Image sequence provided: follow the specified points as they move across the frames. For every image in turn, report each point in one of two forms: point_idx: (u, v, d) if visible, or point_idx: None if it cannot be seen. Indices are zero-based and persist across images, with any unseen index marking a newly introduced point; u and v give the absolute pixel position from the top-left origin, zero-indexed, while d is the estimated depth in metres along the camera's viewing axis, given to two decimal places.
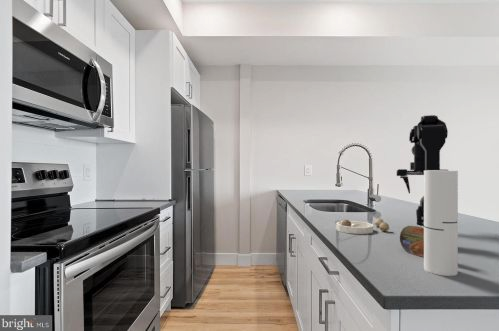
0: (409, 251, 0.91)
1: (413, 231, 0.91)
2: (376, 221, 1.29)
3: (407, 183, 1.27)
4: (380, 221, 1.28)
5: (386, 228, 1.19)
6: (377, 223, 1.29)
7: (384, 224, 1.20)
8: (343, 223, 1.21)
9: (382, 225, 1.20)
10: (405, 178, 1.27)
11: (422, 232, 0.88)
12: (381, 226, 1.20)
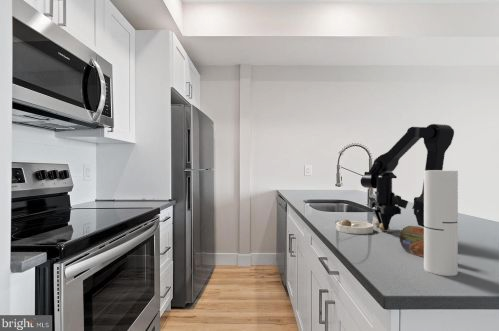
0: (409, 251, 0.91)
1: (413, 231, 0.91)
2: (376, 221, 1.29)
3: (376, 216, 1.24)
4: None
5: None
6: (377, 223, 1.29)
7: None
8: (343, 223, 1.21)
9: (382, 225, 1.20)
10: (374, 211, 1.24)
11: (422, 232, 0.88)
12: (381, 226, 1.20)
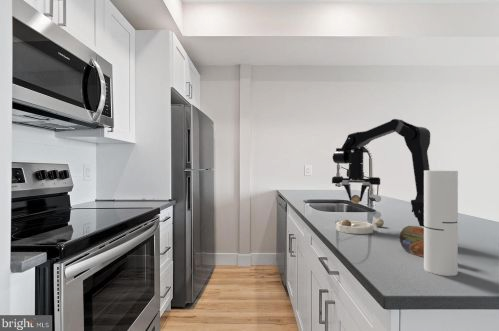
0: (409, 251, 0.91)
1: (413, 231, 0.91)
2: (376, 221, 1.29)
3: (348, 190, 1.26)
4: (380, 221, 1.28)
5: (359, 200, 1.27)
6: (377, 223, 1.29)
7: (358, 196, 1.26)
8: (343, 223, 1.21)
9: (358, 197, 1.26)
10: (346, 186, 1.26)
11: (422, 232, 0.88)
12: (358, 198, 1.25)
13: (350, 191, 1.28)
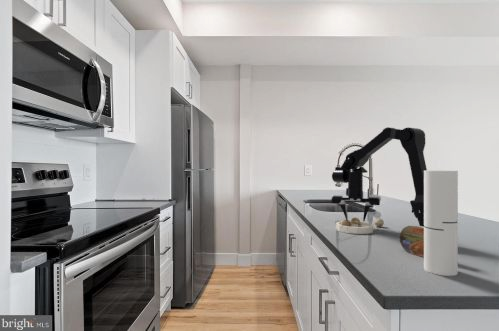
0: (409, 251, 0.91)
1: (413, 231, 0.91)
2: (376, 221, 1.29)
3: (344, 210, 1.27)
4: (380, 221, 1.28)
5: (359, 222, 1.27)
6: (377, 223, 1.29)
7: (358, 219, 1.26)
8: (343, 223, 1.21)
9: (358, 220, 1.26)
10: (342, 206, 1.26)
11: (422, 232, 0.88)
12: (357, 221, 1.25)
13: (346, 210, 1.29)
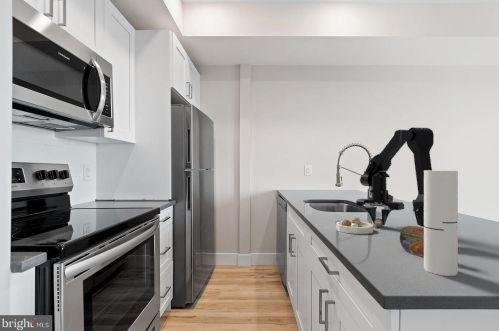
0: (409, 251, 0.91)
1: (413, 231, 0.91)
2: (376, 221, 1.29)
3: (370, 213, 1.31)
4: (380, 221, 1.28)
5: None
6: (377, 223, 1.29)
7: (359, 219, 1.26)
8: (343, 223, 1.21)
9: (359, 221, 1.25)
10: (368, 209, 1.31)
11: (422, 232, 0.88)
12: (358, 222, 1.25)
13: (374, 214, 1.31)
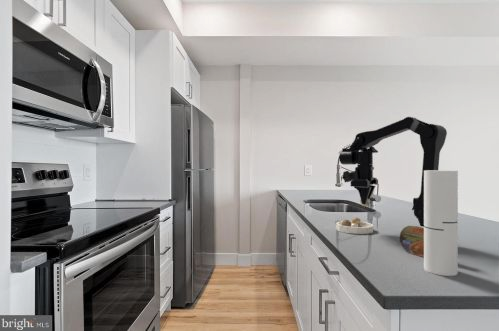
0: (409, 251, 0.91)
1: (413, 231, 0.91)
2: (369, 201, 1.20)
3: (368, 193, 1.18)
4: None
5: None
6: (369, 202, 1.21)
7: (360, 220, 1.26)
8: (343, 223, 1.21)
9: (359, 221, 1.25)
10: (370, 188, 1.17)
11: (422, 232, 0.88)
12: (358, 222, 1.25)
13: None
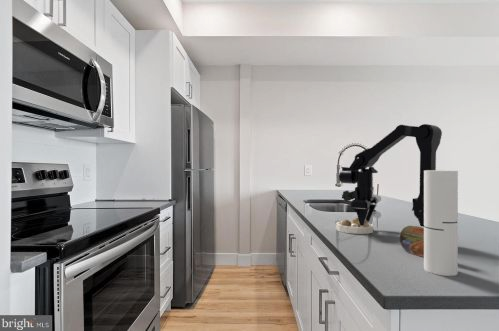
0: (409, 251, 0.91)
1: (413, 231, 0.91)
2: (368, 224, 1.20)
3: (366, 215, 1.16)
4: None
5: None
6: None
7: None
8: (343, 223, 1.21)
9: None
10: (368, 210, 1.15)
11: (422, 232, 0.88)
12: None
13: None
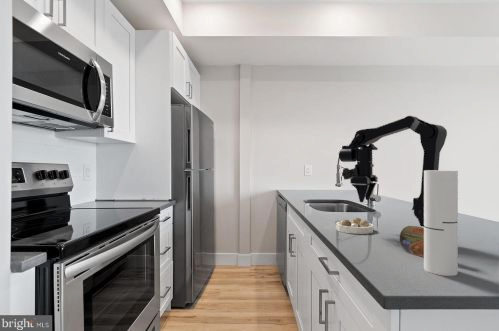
0: (409, 251, 0.91)
1: (413, 231, 0.91)
2: (368, 223, 1.20)
3: (366, 191, 1.16)
4: None
5: None
6: None
7: None
8: (343, 223, 1.21)
9: None
10: (368, 186, 1.15)
11: (422, 232, 0.88)
12: (359, 222, 1.25)
13: None
